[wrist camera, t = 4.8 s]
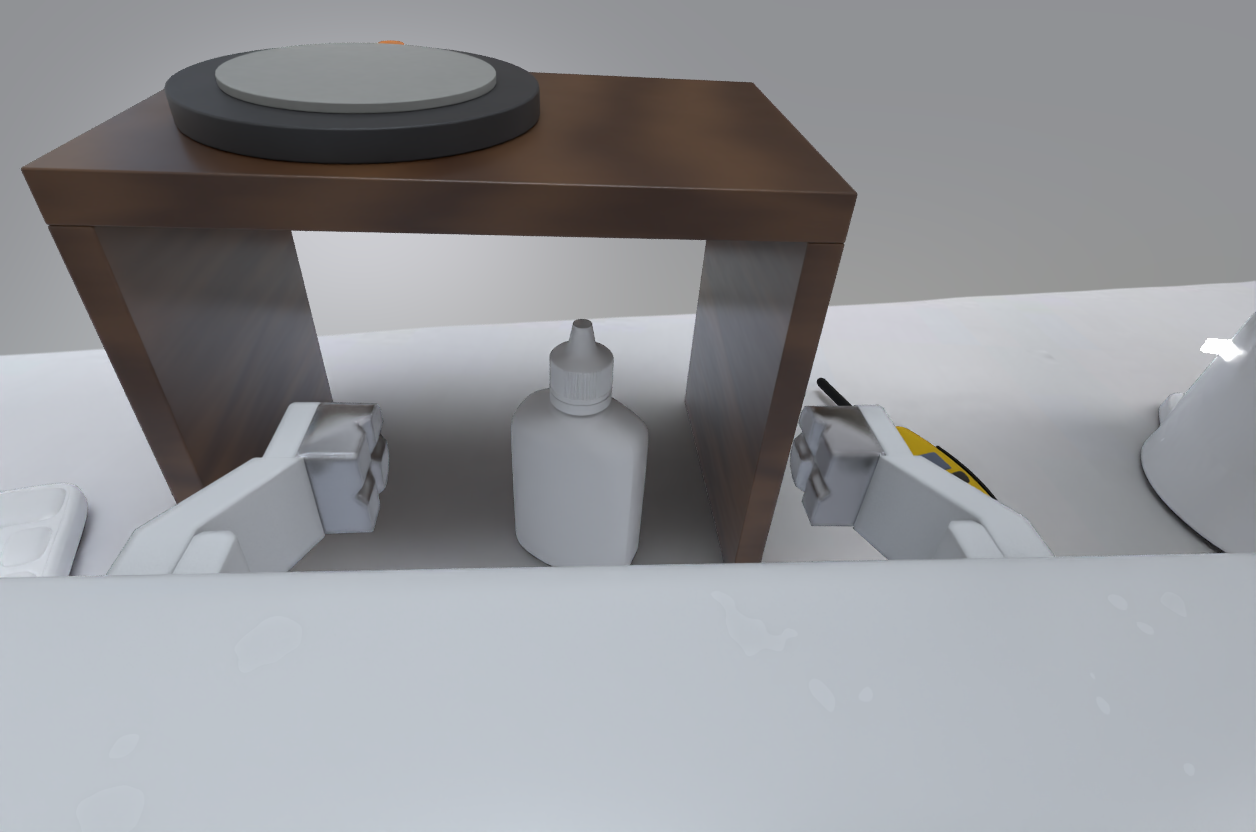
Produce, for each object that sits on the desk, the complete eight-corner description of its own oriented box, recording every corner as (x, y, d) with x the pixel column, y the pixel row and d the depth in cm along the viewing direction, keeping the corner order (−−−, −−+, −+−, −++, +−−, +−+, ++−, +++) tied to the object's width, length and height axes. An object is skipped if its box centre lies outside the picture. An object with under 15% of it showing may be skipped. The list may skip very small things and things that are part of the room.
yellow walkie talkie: (962, 549, 32) (789, 369, 42) (947, 577, 33) (782, 395, 44) (1042, 526, 33) (855, 358, 44) (1025, 553, 34) (847, 383, 45)
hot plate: (542, 77, 30) (541, 44, 29) (536, 171, 21) (535, 125, 20) (248, 64, 29) (240, 28, 28) (99, 157, 19) (79, 107, 19)
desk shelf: (703, 401, 43) (753, 82, 32) (755, 584, 32) (858, 193, 21) (311, 401, 40) (219, 57, 29) (220, 599, 29) (18, 167, 18)
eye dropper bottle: (578, 493, 36) (583, 279, 28) (651, 561, 32) (678, 339, 25) (504, 531, 33) (489, 308, 26) (575, 609, 30) (581, 379, 23)
